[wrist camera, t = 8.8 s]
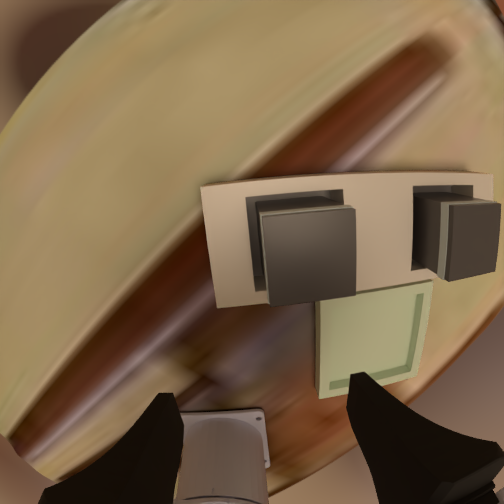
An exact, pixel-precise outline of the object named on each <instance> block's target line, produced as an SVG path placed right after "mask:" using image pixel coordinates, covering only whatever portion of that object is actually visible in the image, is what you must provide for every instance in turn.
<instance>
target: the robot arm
mask: <svg viewBox="0 0 504 504" xmlns="http://www.w3.org/2000/svg"><path fill="white" fill-rule="evenodd" d="M346 409H347V412H348V416H349V420H350V423H351V427H352V429H353V432H354V434H355V436H356V439H357V441H358V443H359V446H360V448H361V450H362V452H363V455H364V457H365V459H366V462H367V464H368V466H369V469H370V472H371V475H372V478H373V481H374V485H375V489H376V493H377V497H378V500H379V504H504V487H503V488H502V489H501V490H499V491H498V492H497V493H496V494H495V493H494V491H493V489H494V488H495V484H494V482H493V481H492V480H493V479H494V478H495V477H496V475H497V474H498V473H499V471H500V470H501V469H502V468H503V466H504V452H503V451H502V449H501V448H500V446H499V445H498V444H497V442H493V441H487V440H482V439H477V438H473V437H469V436H466V435H462V434H460V433H457V432H454V431H452V430H449V429H447V428H444V427H442V426H440V425H438V424H435V423H433V422H432V421H430V420H428V419H426V418H424V417H423V416H421V415H419V414H418V413H416V412H414V411H413V410H411V409H410V408H408V407H407V406H406V405H404V404H403V403H402V402H400V401H399V400H398V399H396V398H395V397H394V396H393V395H391V394H390V393H389V392H388V391H386V390H385V389H384V388H383V387H382V386H381V385H379V384H378V383H377V382H376V381H375V380H374V379H373V378H371V377H370V376H369V375H368V374H367V373H366V372H359V373H354V374H350V382H349V391H348V399H347V406H346ZM257 417H260V418H257ZM183 444H184V450H183V456H182V463H181V470H180V476H179V483H178V490H177V497H176V499H174V500H173V498H174V489H175V483H176V478H177V473H178V468H179V463H180V458H181V453H182V448H183ZM268 467H270V460H269V451H268V443H267V435H266V426H265V418H264V411H263V410H262V409H249V410H237V411H222V412H200V413H180V412H179V409H178V406H177V403H176V401H175V398H174V395H173V393H158V394H157V396H156V397H155V398H154V399H153V401H152V402H151V403H150V405H149V406H148V407H147V409H146V410H145V411H144V413H143V414H142V415H141V416H140V418H139V419H138V420H137V421H136V422H135V424H134V425H133V426H132V427H131V428H130V430H129V431H128V432H127V433H126V434H125V435H124V436H123V437H122V438H121V439H120V440H119V441H118V442H117V443H116V444H115V445H114V446H113V447H112V448H111V449H110V450H109V451H108V452H107V453H106V454H104V455H103V456H102V457H101V458H99V459H98V460H97V461H95V462H94V463H93V464H91V465H90V466H88V467H87V468H86V469H84V470H82V471H81V472H79V473H77V474H76V475H74V476H72V477H70V478H68V479H66V480H64V481H62V482H60V483H58V484H55V485H53V486H51V487H48V488H45V489H44V491H43V493H42V496H41V498H40V500H39V502H38V504H269V501H268V491H267V480H266V470H265V468H268Z"/></svg>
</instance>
